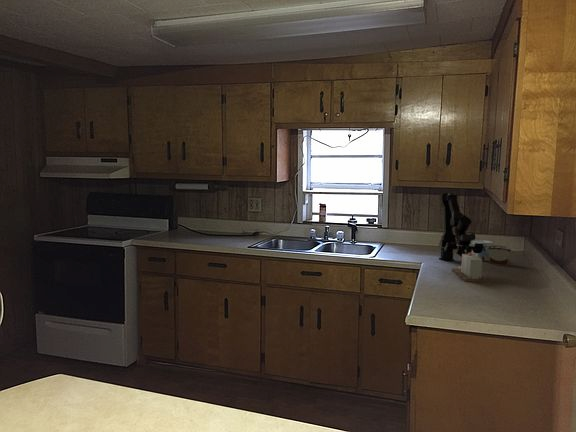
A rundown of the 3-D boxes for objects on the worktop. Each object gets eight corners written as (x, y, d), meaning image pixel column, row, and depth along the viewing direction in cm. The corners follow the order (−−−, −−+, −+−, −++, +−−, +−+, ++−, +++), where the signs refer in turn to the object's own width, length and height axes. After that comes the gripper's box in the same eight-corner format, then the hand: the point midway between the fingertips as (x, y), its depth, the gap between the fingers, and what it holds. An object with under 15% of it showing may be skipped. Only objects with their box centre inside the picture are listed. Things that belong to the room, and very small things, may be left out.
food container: (511, 264, 273) (512, 246, 272) (510, 266, 268) (511, 248, 267) (488, 261, 279) (489, 244, 278) (486, 263, 274) (487, 246, 273)
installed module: (465, 274, 240) (466, 256, 239) (476, 275, 240) (477, 257, 238) (469, 277, 234) (470, 259, 233) (481, 278, 234) (482, 259, 232)
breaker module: (461, 271, 247) (462, 251, 245) (471, 271, 247) (473, 251, 245) (465, 274, 240) (466, 254, 238) (476, 275, 240) (478, 254, 238)
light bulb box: (477, 261, 280) (478, 242, 278) (470, 258, 286) (471, 240, 285) (493, 260, 282) (494, 242, 281) (485, 257, 289) (486, 240, 288)
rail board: (451, 270, 255) (452, 266, 255) (470, 271, 255) (471, 266, 254) (464, 281, 234) (464, 276, 234) (485, 281, 234) (485, 276, 233)
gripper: (447, 227, 250) (452, 252, 240) (484, 228, 249) (490, 253, 239) (442, 239, 258) (446, 264, 249) (477, 240, 258) (483, 265, 248)
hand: (466, 261), depth 246 cm, fingers closed, pressing on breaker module
